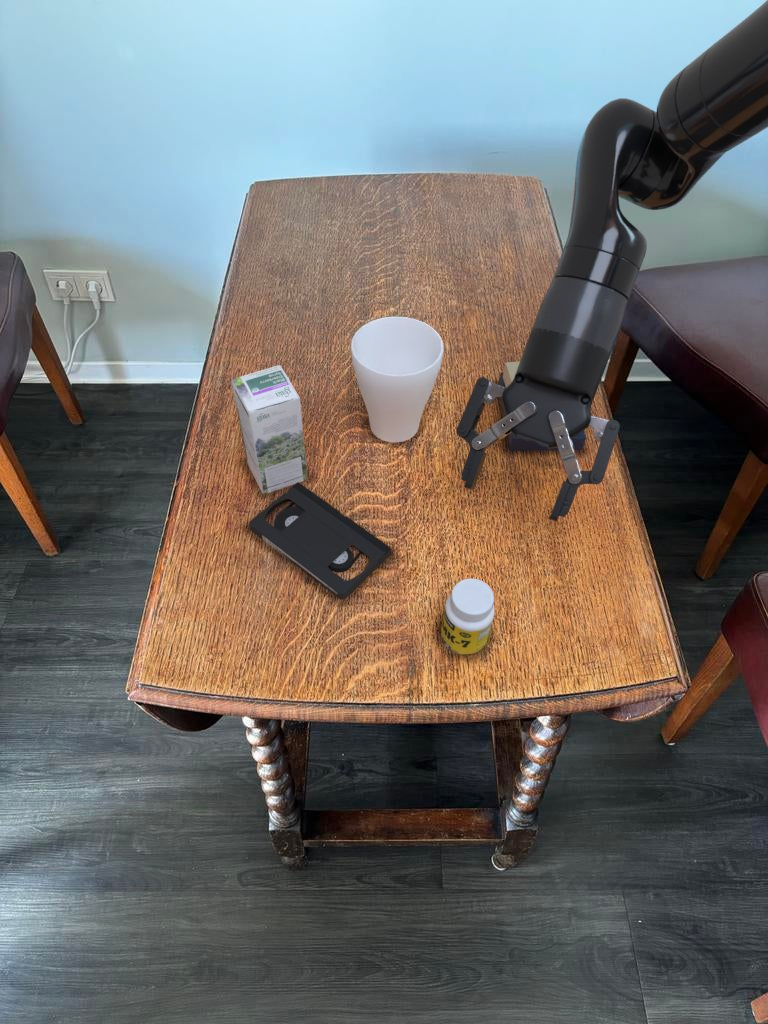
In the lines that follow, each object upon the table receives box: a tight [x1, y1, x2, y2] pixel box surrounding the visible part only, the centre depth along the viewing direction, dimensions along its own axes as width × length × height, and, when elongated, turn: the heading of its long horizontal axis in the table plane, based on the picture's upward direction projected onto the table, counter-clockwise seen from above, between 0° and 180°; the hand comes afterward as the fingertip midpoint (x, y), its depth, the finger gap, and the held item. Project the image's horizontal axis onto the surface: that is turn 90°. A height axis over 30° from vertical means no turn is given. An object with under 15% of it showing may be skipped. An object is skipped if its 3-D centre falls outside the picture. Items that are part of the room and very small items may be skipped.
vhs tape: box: [249, 482, 392, 600], centre depth 80 cm, size 14×8×2 cm, turn 49°
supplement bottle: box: [440, 577, 496, 657], centre depth 71 cm, size 5×5×8 cm
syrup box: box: [230, 364, 308, 495], centre depth 81 cm, size 6×6×14 cm
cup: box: [350, 315, 444, 444], centre depth 87 cm, size 10×10×14 cm
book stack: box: [497, 360, 587, 452], centre depth 91 cm, size 12×9×6 cm
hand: (510, 503), depth 69 cm, fingers open, 8 cm apart
